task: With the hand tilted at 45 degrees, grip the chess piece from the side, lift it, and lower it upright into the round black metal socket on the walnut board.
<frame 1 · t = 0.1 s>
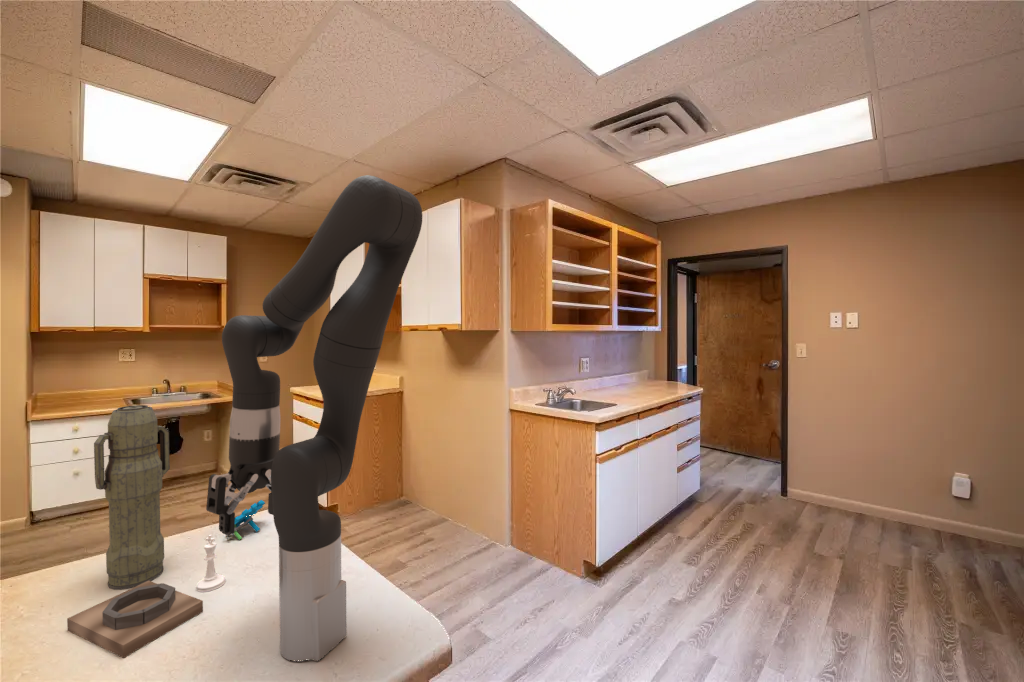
hand: (252, 523, 76), 17 cm above the countertop, tool pointing down, fingers open, 8 cm apart
socket board: (137, 620, 77), on the countertop
thermos: (137, 577, 90), on the countertop
blue and green toy: (244, 532, 110), on the countertop
chess piece: (210, 585, 87), on the countertop
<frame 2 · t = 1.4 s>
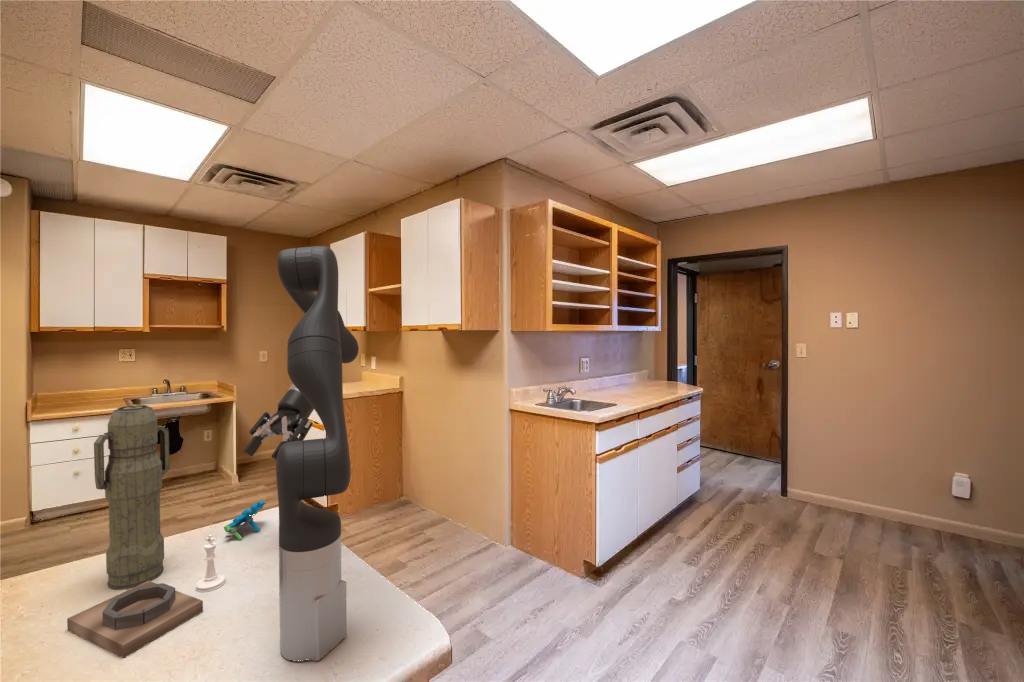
hand: (261, 456, 97), 23 cm above the countertop, tool tilted 45°, fingers open, 8 cm apart
nothing on the countertop moved.
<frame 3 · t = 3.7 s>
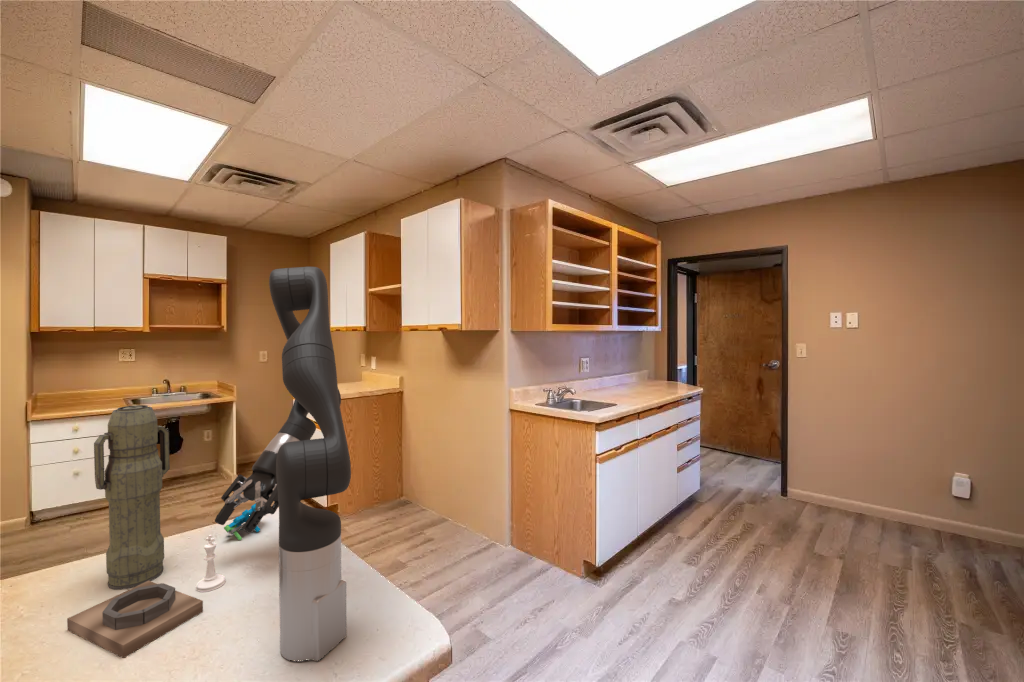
hand: (232, 527, 91), 10 cm above the countertop, tool tilted 45°, fingers open, 8 cm apart
nothing on the countertop moved.
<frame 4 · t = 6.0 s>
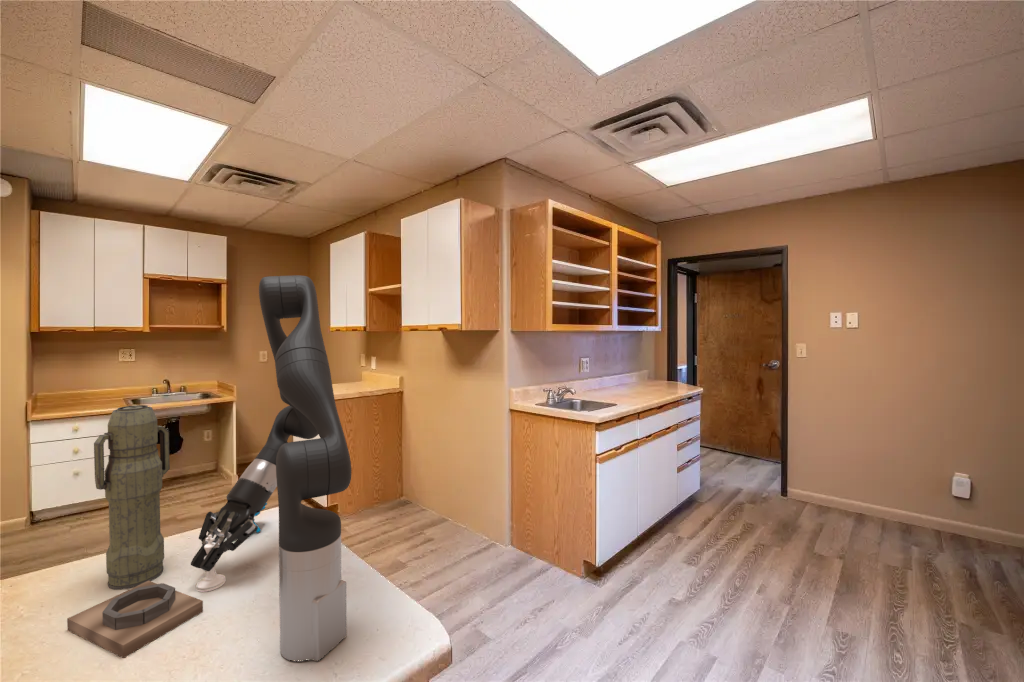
hand: (199, 567, 85), 4 cm above the countertop, tool tilted 45°, fingers closed on chess piece
chess piece: (210, 585, 87), on the countertop, touching gripper
everything else where it was.
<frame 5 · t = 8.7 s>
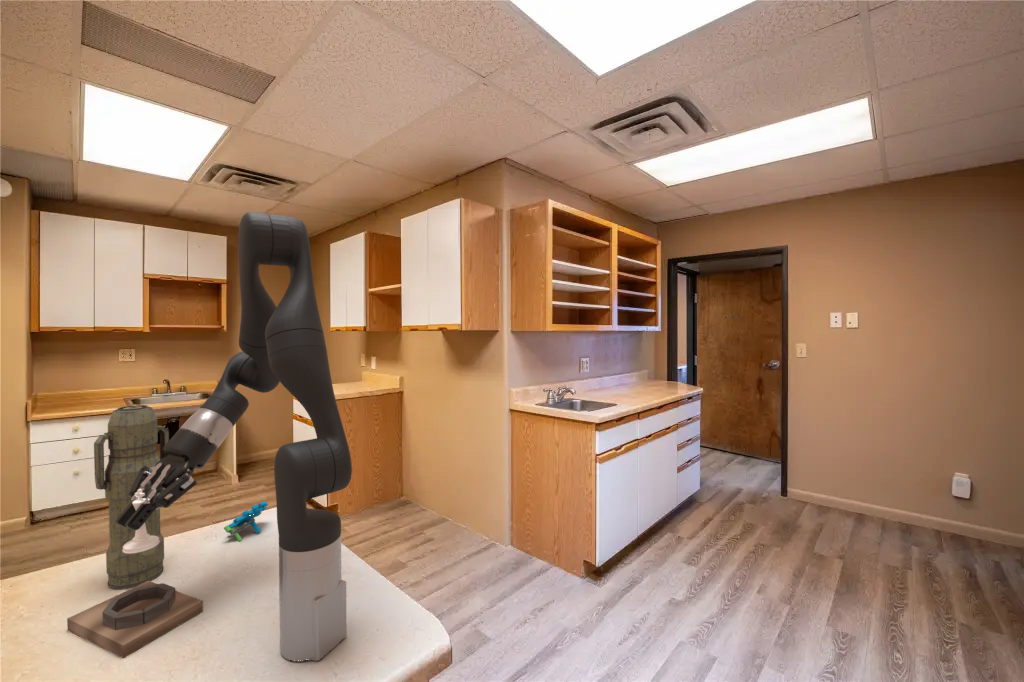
hand: (126, 526, 74), 18 cm above the countertop, tool tilted 45°, fingers closed on chess piece
chess piece: (141, 547, 76), point 13 cm above the countertop, touching gripper
everything else where it was.
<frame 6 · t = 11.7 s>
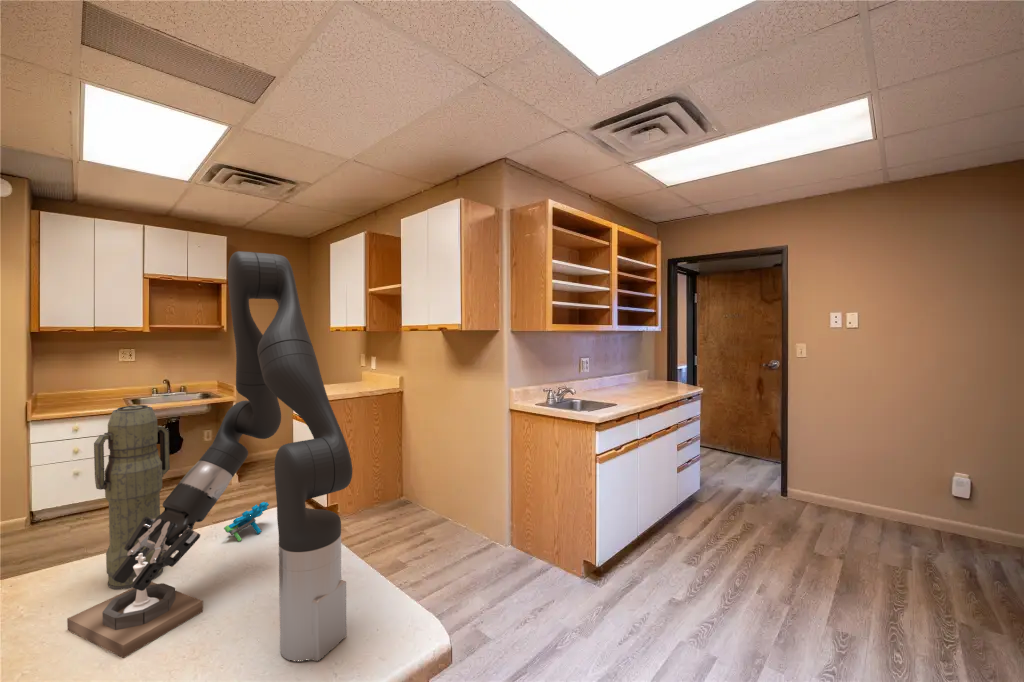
hand: (127, 584, 74), 8 cm above the countertop, tool tilted 45°, fingers open, 5 cm apart
chess piece: (141, 611, 76), point 2 cm above the countertop, touching socket board
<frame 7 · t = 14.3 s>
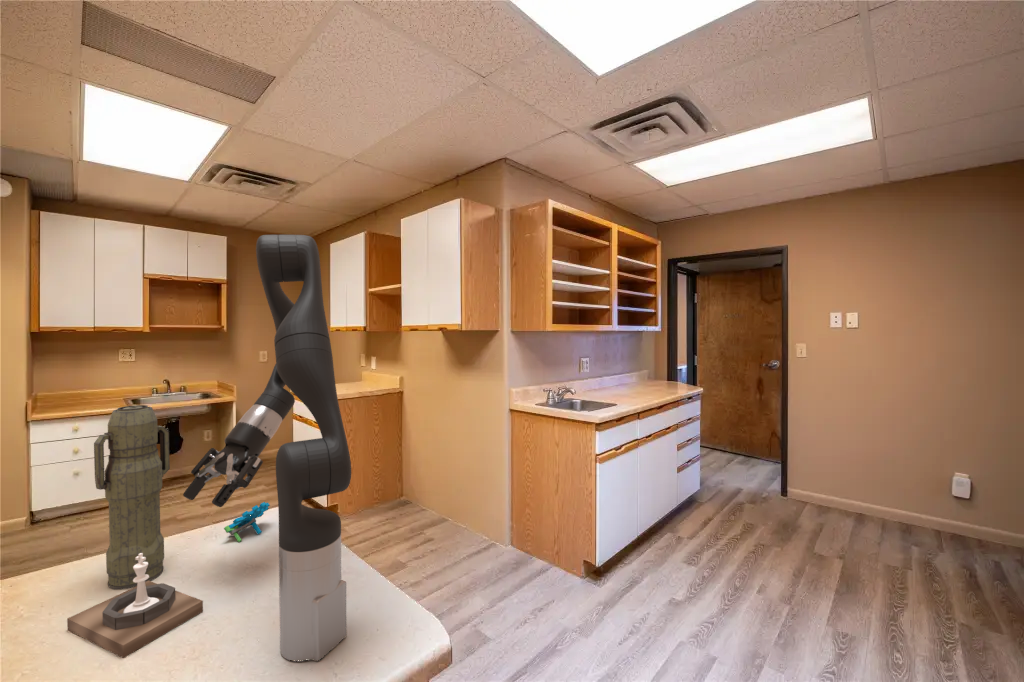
hand: (201, 501, 85), 17 cm above the countertop, tool tilted 45°, fingers open, 8 cm apart
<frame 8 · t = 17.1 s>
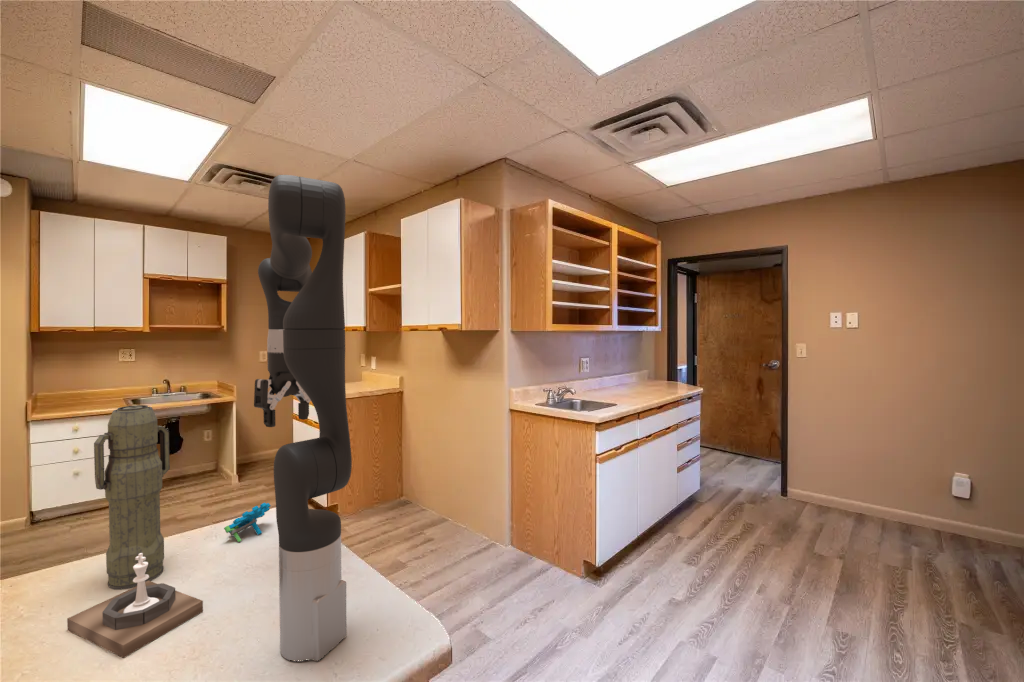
hand: (287, 422, 97), 30 cm above the countertop, tool pointing down, fingers open, 8 cm apart
at the end: chess piece 0.2 cm from the target spot on the socket board, point 1.8 cm above the socket board's base; chess piece tilted 0°; the gripper is holding nothing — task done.
